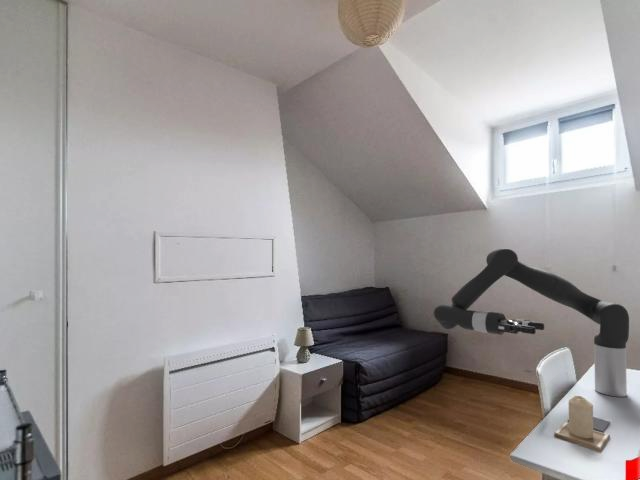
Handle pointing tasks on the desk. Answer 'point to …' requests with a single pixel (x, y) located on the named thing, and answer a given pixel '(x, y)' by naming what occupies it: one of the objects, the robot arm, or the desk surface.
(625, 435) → the desk surface
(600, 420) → the pad
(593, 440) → the board
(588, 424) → the candle
